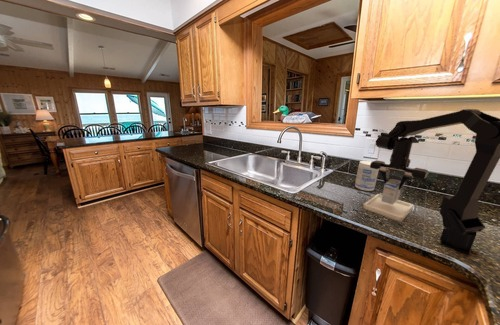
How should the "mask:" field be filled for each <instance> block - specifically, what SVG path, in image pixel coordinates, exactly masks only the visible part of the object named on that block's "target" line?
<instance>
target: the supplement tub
mask: <svg viewBox="0 0 500 325" xmlns="http://www.w3.org/2000/svg"><path fill="white" fill-rule="evenodd" d="M371 162H372V161H370V160H360V161H359V164H358V166H357V167H358V168H357V171H356V172H357V173H356V178H355V183H354V186H355V188H357V189H359V190H362V191H365V192H372V191H374V190H375V187H376V184H377V180H378V175H379V169H380V168H379V169H373V168H370V164H371Z"/></svg>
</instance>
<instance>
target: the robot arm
mask: <svg viewBox="0 0 500 325" xmlns="http://www.w3.org/2000/svg"><path fill="white" fill-rule="evenodd" d="M461 124H463V125H464V126H465V127H466V129H468V130H469V131H470V132H473V133H474V134H475V139H474V146H475V154H474V155H473V157H472V159H471V162H470V164H469V166H468V167H467V170H466V172H465V174H464V176H463V178H462V180H461V182H460V184H459V187H458V188H457V191H456V192H455V194H454V195H451V196H444V197H443V198H442V201H441V204H440V206H438V208H439V209H440V210H439V214H440V215H441V218H442V220H441V221H442V226H443V229H442V232H441V235H440V237H439V240H440V245H442V246H445V247H447V248H450V249H452V250H455V251H457V252H461V253H462V254H465V255H468V256H470V255H471V253H472V252H471V250H472V247H473V244H474V242H475V240H476V237H477V232H478V233H480V232H482V231H483V230H485V229H486V226H485V224H484V223H483V222H482V221H481V219H480V218H479V216H478V215H479V210H480V204H479V198H480V197H481V194H482V192H483V191H484V189H485V187H486V185H487V183H488V181H489V180H490V178H491V175H492V174H493V173H494V170H495V168H496V167H497V164H498V163H499V161H500V118H499V117H497V116H494V115H490V114H487V113H485V112H483V111H481V110H480V109H477V108H476V109H475V108H464V109H461V110H459V111H458V110H457V111H454V112H449V113H445V114H441V115H437V116H433V117H426V118H424V119H415V120H413V119H412V120H402V121H401V120H400V121H397V122H396V124H395V126H394V127H393V128H392V129H391V130H390V131H389V132H388V133H387V132H382V133H380V135H379V136H378V137H377V139H376V140H375V146H376V147H377V148H380V149H384V150H388V151H392V152H391V155H390V158H389V164H386V162H385V161H383V160H374V161H371V164H370V168H373V169H379V171H378V173H380V174H381V177H382V179H383V182H384V184H385V183H386V182H388V181H389V180H390V179H389V178H390V172H391V171H396V172H401V173H404V174H403V175H402V178H401V180H400V181H401V183H400V186H399V190H400V189H401V190H402V189H403V187H404V185H405V184H406V182H407V181H408V180H409V179H414V178H416V179H421V180H425V179H426V178H427V177H428V174H429V171H428V169H426V168H421V167H414V169H413V168H409V167H410V164H411V159H410V156H411V150H412V148H413V144H420V141H419V140H418V139H417V138H416V135H419V134H422V133H424V132H426V131H430V130H435V129H440V128H445V127H451V126H455V125H461Z"/></svg>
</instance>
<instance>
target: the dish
mask: <svg viewBox="0 0 500 325" xmlns="http://www.w3.org/2000/svg"><path fill="white" fill-rule="evenodd" d="M382 195H383V194H381V193H377V194H376V195H374V196H373V197H372V198H370V199H369V200H367V201H366V202H364V203H363V205H362V209H363V210H365V211H369V212H371V213H375V214H377V215H379V216H382V217H385V218H387V219H390V220H393V221H395V222H399V223H402V222H403V221H404V219H405V218H406V217H407V216H408V215H409V214H410V212H411V211H412V210H413V208H414V203H410V202H407V201H403V200H400V199H397V201H396V202H395V203H394V204H393V205H392V204H388V203H385V202H382V201H381V200H382Z"/></svg>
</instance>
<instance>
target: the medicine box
mask: <svg viewBox="0 0 500 325" xmlns="http://www.w3.org/2000/svg"><path fill="white" fill-rule="evenodd" d="M400 183H401V180H399V179H394V178H390V179H388V182H386V183H384V186H383V191H382V194H381V195H382V200H381V201H382V202H385V203H388V204H392V205H393V204H394V203H395V202H396V201H397V200H399V199H400V195H401V194H400V193H401V191H402V188H401V189H400V190H399V186H400Z"/></svg>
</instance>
